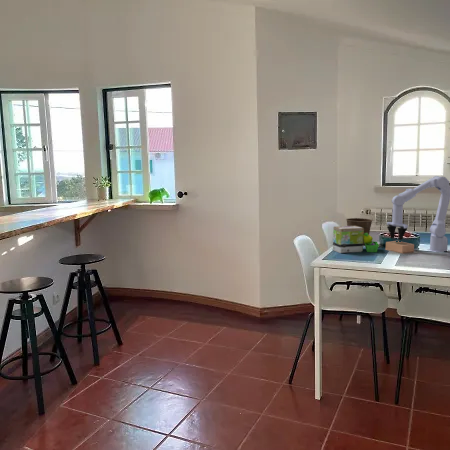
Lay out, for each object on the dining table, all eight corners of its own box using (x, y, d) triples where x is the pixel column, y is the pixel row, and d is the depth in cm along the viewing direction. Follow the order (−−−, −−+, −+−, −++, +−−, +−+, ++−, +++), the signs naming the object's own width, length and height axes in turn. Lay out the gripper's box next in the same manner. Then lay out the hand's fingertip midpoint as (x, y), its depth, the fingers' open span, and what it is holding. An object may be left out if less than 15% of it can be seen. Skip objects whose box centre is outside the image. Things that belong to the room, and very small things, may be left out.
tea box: (340, 253, 271) (341, 228, 269) (332, 250, 281) (332, 226, 278) (363, 251, 275) (364, 227, 273) (354, 248, 285) (355, 225, 282)
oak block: (396, 248, 278) (396, 241, 278) (400, 249, 275) (401, 242, 274) (390, 248, 277) (391, 242, 276) (395, 250, 273) (396, 243, 273)
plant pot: (368, 242, 306) (369, 217, 303) (374, 246, 290) (375, 221, 287) (343, 241, 307) (344, 217, 305) (347, 246, 291) (348, 221, 289)
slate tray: (398, 248, 283) (398, 247, 283) (420, 253, 268) (421, 252, 268) (383, 250, 278) (383, 249, 278) (405, 255, 263) (405, 254, 263)
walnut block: (402, 249, 274) (403, 243, 273) (408, 251, 270) (408, 244, 269) (397, 250, 272) (397, 243, 271) (402, 251, 268) (403, 244, 268)
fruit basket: (379, 253, 269) (379, 234, 268) (363, 253, 271) (363, 234, 270) (376, 249, 280) (377, 231, 279) (361, 249, 282) (362, 231, 281)
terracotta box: (397, 248, 281) (397, 240, 281) (413, 252, 270) (414, 244, 269) (385, 249, 278) (385, 242, 277) (402, 253, 266) (402, 245, 265)
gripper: (383, 215, 278) (382, 237, 280) (401, 217, 265) (400, 241, 267) (392, 214, 281) (391, 236, 283) (410, 217, 268) (409, 240, 270)
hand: (396, 238), depth 275 cm, fingers open, 6 cm apart
